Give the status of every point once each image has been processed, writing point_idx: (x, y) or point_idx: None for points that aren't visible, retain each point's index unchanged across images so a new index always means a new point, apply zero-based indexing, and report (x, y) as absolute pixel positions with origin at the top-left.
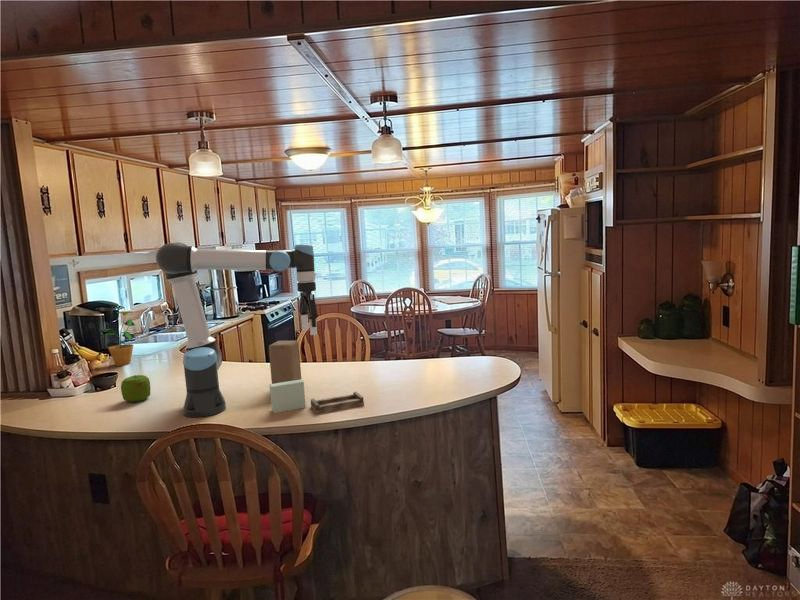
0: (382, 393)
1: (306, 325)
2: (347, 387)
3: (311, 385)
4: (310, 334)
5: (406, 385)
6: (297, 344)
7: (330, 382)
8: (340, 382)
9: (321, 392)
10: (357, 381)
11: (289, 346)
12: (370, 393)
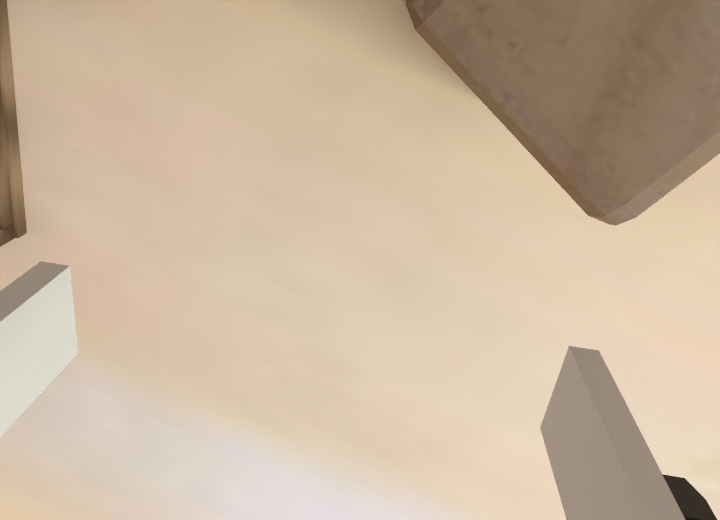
0: None
1: (567, 459)
2: (257, 295)
3: (454, 161)
4: (53, 268)
5: (114, 485)
6: (559, 184)
7: (425, 275)
8: (380, 314)
9: (259, 142)
10: (330, 382)
11: (410, 1)
12: (81, 324)
